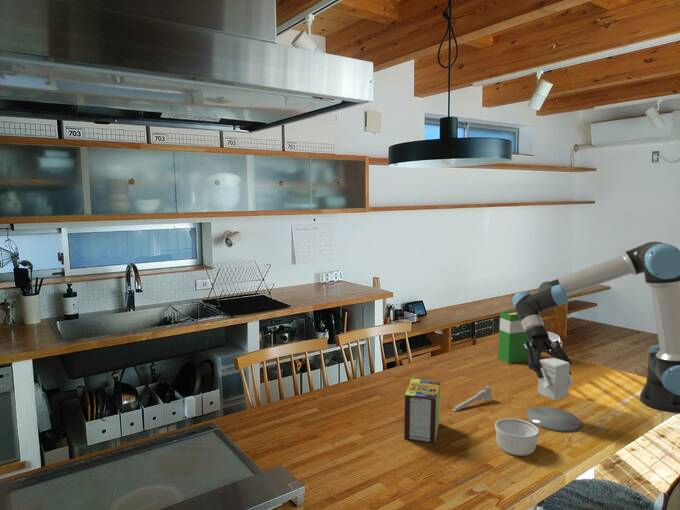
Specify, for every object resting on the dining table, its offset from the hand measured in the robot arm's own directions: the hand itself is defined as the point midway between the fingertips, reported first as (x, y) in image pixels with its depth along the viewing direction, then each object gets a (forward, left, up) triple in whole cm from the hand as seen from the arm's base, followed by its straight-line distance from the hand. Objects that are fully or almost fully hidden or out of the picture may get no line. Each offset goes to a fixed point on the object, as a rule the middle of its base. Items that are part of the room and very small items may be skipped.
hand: (559, 385), depth 171 cm
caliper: (+30, +4, -15) cm, 34 cm away
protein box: (+35, +35, -14) cm, 51 cm away
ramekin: (+6, +26, -14) cm, 30 cm away
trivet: (+2, -2, -14) cm, 14 cm away
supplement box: (+3, -2, -5) cm, 6 cm away
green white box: (+34, -62, -14) cm, 72 cm away
